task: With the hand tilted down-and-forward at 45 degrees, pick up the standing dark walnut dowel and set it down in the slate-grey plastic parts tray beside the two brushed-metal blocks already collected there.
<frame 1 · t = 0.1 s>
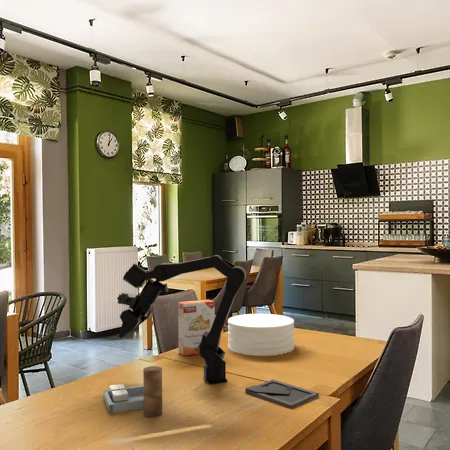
hand: (124, 334, 161), 15 cm above the table, tool tilted 35°, fingers open, 9 cm apart
cracker box: (196, 353, 192), on the table
plate stack: (261, 347, 200), on the table
picture frame: (281, 397, 144), on the table
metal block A: (117, 400, 138), point 1 cm above the table, touching parts tray
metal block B: (120, 406, 133), point 1 cm above the table, touching parts tray
walnut dowel: (153, 416, 128), on the table
parts tray: (131, 404, 137), on the table
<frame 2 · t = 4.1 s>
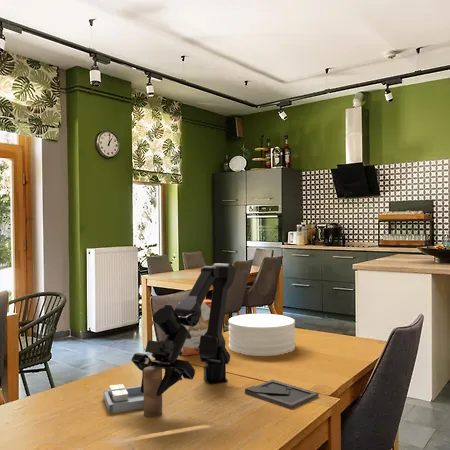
hand: (149, 394, 127), 7 cm above the table, tool tilted 45°, fingers closed on walnut dowel, 5 cm apart
walnut dowel: (153, 416, 128), on the table, touching gripper
everything else where it was.
when the fingers open (9 cm above the table, at t = 7.7 s): walnut dowel drops 1 cm, resting on parts tray.
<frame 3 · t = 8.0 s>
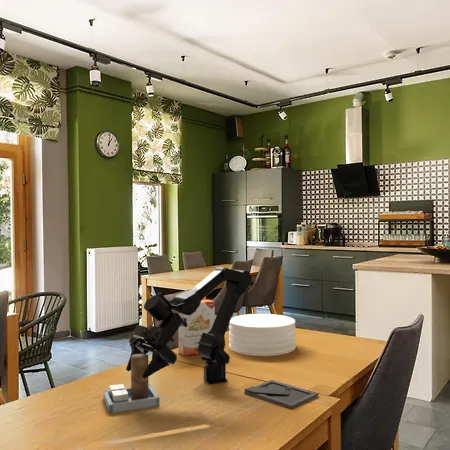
hand: (135, 374, 137), 9 cm above the table, tool tilted 45°, fingers open, 9 cm apart
walnut dowel: (139, 400, 138), point 1 cm above the table, touching parts tray
everything else where it was.
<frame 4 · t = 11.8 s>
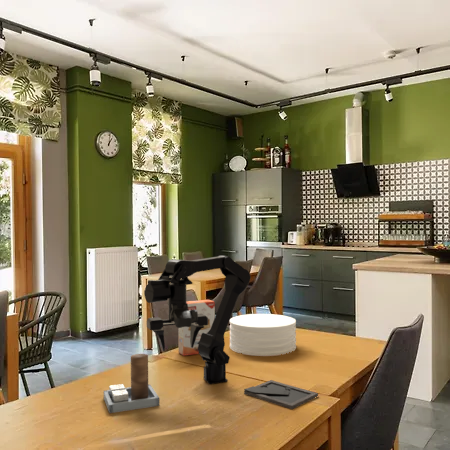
hand: (177, 348, 148), 13 cm above the table, tool pointing down, fingers open, 9 cm apart
nothing on the table moved.
at the end: walnut dowel inside the target area (2.6 cm from its centre), point 0.8 cm above the table; walnut dowel tilted 0°; the gripper is holding nothing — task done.
